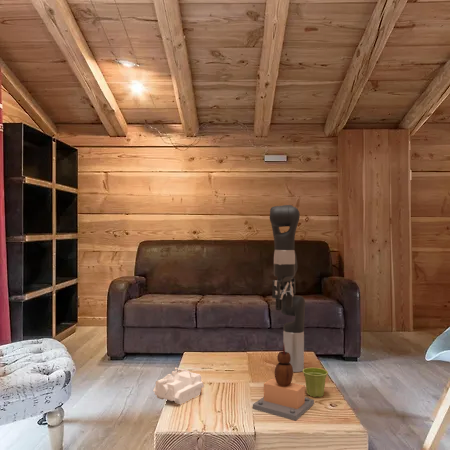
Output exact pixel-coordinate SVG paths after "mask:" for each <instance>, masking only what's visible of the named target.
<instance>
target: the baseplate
mask: <svg viewBox="0 0 450 450" xmlns="http://www.w3.org/2000/svg"><path fill="white" fill-rule="evenodd" d="M313 404H315V399H312V398H309V397H308V396H307V397H306V396H305V403H304V404H303V405H302V406H301V407H300V408H298V409H294V408H290V407H287V406H283V405H279V404H275V403H271V402H267V401H264V396H262V397H261V398H259V399H258V400H257V401H255V402H254V403H252V410H256V411H260V412H264V413H267V414H271V415H273V416H278V417H280V418H285V419H289V420H293V421H297V420H298V419H299V418H300V417H301V416H303V415H304V414H305V413H306V412H307V411H308V410H309V409H310V408H311V407H313V406H314V405H313Z"/></svg>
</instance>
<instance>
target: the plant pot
mask: <svg viewBox="0 0 450 450" xmlns="http://www.w3.org/2000/svg"><path fill="white" fill-rule="evenodd" d="M302 373H303V376H304V379H305V390H306V393H307V395H308V396H309V395H310V396H309V397H312V396H313V398H315V397H316V398H317V397H319V398H322V397H323V396H324V393H325V386H326V385H325V384H326V378H327V376H328V374H329V373H328V371H327V370H326V369H324V368H319V367H306V368H305V367H304V369H303V371H302Z"/></svg>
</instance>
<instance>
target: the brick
mask: <svg viewBox="0 0 450 450" xmlns="http://www.w3.org/2000/svg"><path fill="white" fill-rule="evenodd" d="M305 393H306V384H305V385H304V384H299V383H296V382H291V383H290V385H288V386H280V385H279V384H278V383H277V382H276V379H275V378H273V377H272V378H270V379H268V380H267V381H265V382H264V383H263V397H264V401H267V402H271V403H275V404H279V405H283V406H287V407H290V408H294V409H298V408H300V407H301V406H302V405H303V404H304V403H305V397H306V395H305Z"/></svg>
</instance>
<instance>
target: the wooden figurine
mask: <svg viewBox="0 0 450 450" xmlns="http://www.w3.org/2000/svg"><path fill="white" fill-rule="evenodd" d="M276 357H277V362H278V363H277V364H276V365H275V368H274V379H276V382H277V383H278V384H279V385H280V386H288V385H290V383H292V381H293V378H294V375H293V374H294V372H293V367H292V365H291V364H290V363H289V362H290V360H291V357H290V354H289V353H288V352H285V346H284V345H283V348H282V351H280V352H278V353H277V356H276Z"/></svg>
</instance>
